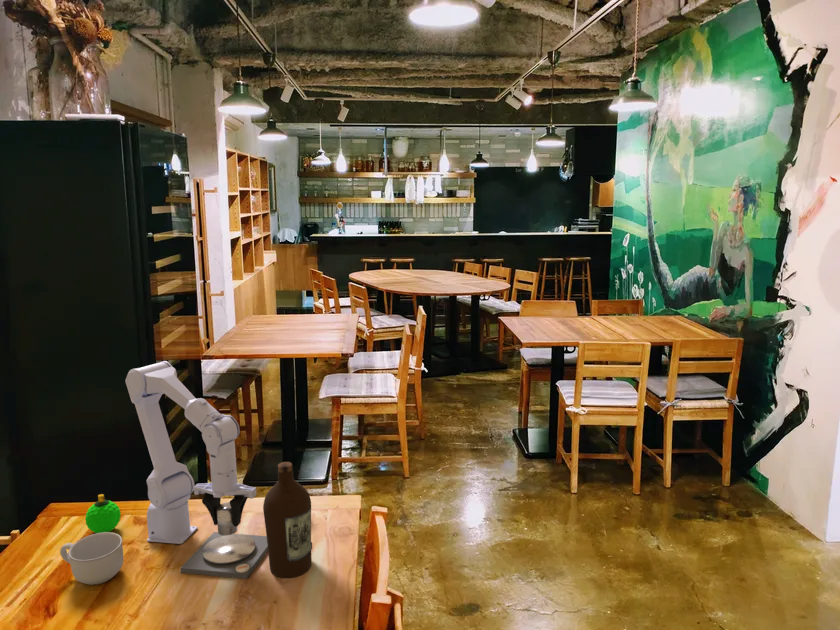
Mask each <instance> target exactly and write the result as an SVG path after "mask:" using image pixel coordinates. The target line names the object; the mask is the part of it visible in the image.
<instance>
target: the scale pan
mask: <svg viewBox="0 0 840 630" xmlns="http://www.w3.org/2000/svg"><path fill="white" fill-rule="evenodd" d="M247 535H248V534H245V535H243V533H234V534H231V535H226V536H221V537H218V538H216V539H214V540H212V541H210V542H209V543H207V544H206V545H205V546H204V548H203V551H202V554H203V558H204V559H205V560H206V561H208V562H210V563H213V564H230V563H234V562H238V561H241V560H243V559H245V558H247V557H248V556H250V555H251V554H252V553H253V552H254V550H255V541H254V539H253V538H251V537H250V536H247Z"/></svg>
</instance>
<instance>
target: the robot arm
mask: <svg viewBox="0 0 840 630" xmlns="http://www.w3.org/2000/svg"><path fill="white" fill-rule="evenodd" d="M125 385H126V387H127V391H128V394H129V398H130V401H131V403H132V404H134V405H135V409H136V413H137V416H138V420H139V423H140V427H141V430H142V433H143V436H144V440H145V442H146V445H147V446H146V447H147V449H148V452H149V456H150V459H151V462H152V466H153V470H152V471H151V473H150V475H148V477H147V479H146V485H147V497H148V500H149V502H150V504H149V505H148V508H147V512H146V522H147V530H148V531H147V533H148V538H147V539H146V541H147V542H152V543H163V544H173V545H174V544H176V545H178V544H179V545H182V544H184V542H186V540H188V538H190V536H192V534H194V533H195V531H197V530H198V526H197V525H196V526H195V525H191V522H190V521H191V520H190V510H189V509H190V508H189V500H190V499H191V495H192V493H194V495H195V496H196V495H200V494H201V495H202V494H203V498H202V499H201V503H202V504H203V505H204V506H205V508H206V509H207V511H208V513H209V514H210V517H211V519H212V522H213V525H214V526H218V525H217V512H216V507H217V506H218V505H220V504H221V501H222V497H227V496H231V497H233V498H231V500H230V501H229V503H230V505H231V508H232V513H233V524H234V527H237V528H238V526H239V525H240V524H241V520H242V516H243V515H242V514H243V511H244V508H245V504H246V502H247V500H248V499H251V500H252V499H254V498H255V497H256V496H257V487H256V486H255V487H254V486H249V485H246V484H243V483H239V482H238V474H237V473H238V472H237V471H238V469H237V459H236V458H237V457H236V456H237V455H236V444H235V440H237V438H238V437H239V436H240V432H241V431H240V425H239V423H238V422H237V420H236V419H235V417H234V416H233V415H230V414H228V415H226V414H224V413H220V412H219V411H218V410H217V409H216V408H215V407H213V406H212V404H210V403H209V402H208V401H207V400H206V399H205V398H202V397H200V398H199V397H198V398H196V397H195V396H194V395H193V393H192V392H190V390H189V389H188V388H187V387H186V386H185V385H184V384H183V383H182V381H180V380H179V378H178V375H177V370H176V368H175V367H173V365H172V364H171V363H170V362H169V361H167V360H163V361H160V362H157V363H153V364H149V365H145V366H142V367H137V368H132V369H130V370H128V373H127V375H126V378H125ZM164 394H165V395H166V396H167V397H168V398H169V399H171V400H172V401H173V402H175V403H176V404H177V405H179V406H180V407H181V408H183V409H184V417H185V418H186V419H187V420H188V421H189V422H190V423H191V424H192V425H193V426H194V427H196V429H198V430H199V431H200V432H201V437H202V440H203V442H204V444H205V446H206V452H207V454H208V455H209V467H210V481H211V482H205V483H196V484H195V480H194V478H193V475H192V474H190V472H189V470H188V467H187V465H186V464H183V463H180V462H178V461H177V460H176V457H175V456H176V455H175V453H174V450H173V447H172V444H171V440H170V437H169V433H168V430H167V428H166V427H167V426H166V423H165V420H164V417H163V413H162V410H161V407H160V403H159V401H160V399H161V397H162V395H164Z"/></svg>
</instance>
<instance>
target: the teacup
mask: <svg viewBox="0 0 840 630" xmlns="http://www.w3.org/2000/svg"><path fill="white" fill-rule="evenodd" d="M67 549H68V551H67ZM59 550H60V551H59V553H60V556H61V558H62V559H63V560H64V561H65V562H66V563H68V564H70V568H71V572H72V576H73V577H74V578H75V580H76V581H77V582H80V583H82V584H86V585H91V586H93V585H94V584H95V585H101V584H104V583H105V582H108V581H109V580H111V579H113V577H114V576H116V575H117V574H118V573H119V571H121V568H122V567H123V566H124V565H123V564H124V549H123V537H122V536H121V535H120V534H118V533H117V532H116V533H115V532H111V531H110V532H103V533H94V534H93V533H92V534H90V535H87V536H84V537H83V538H80V539H78V541H75V543H72V542H67V543H64V544H63V545H62V546H61V547H60V549H59Z"/></svg>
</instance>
